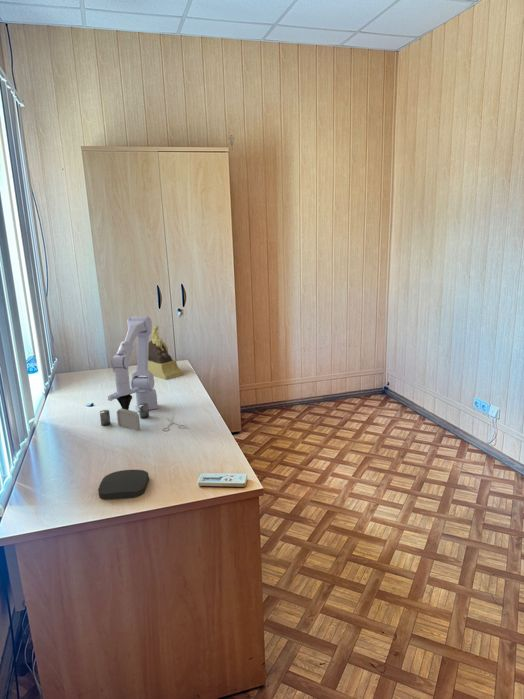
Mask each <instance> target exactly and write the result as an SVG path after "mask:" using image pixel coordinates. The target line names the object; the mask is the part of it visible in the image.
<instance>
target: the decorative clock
mask: <svg viewBox="0 0 524 699" xmlns="http://www.w3.org/2000/svg"><path fill="white" fill-rule="evenodd" d="M158 330H159V326H158V325H154V326H153V328H152V333H151V334H150V336H151V340H150V341H149V348H148V370H149V371H150V372H151V373H152V374H153V376H154V377H155V378H159V379H162V380H164V381H167V380H169V379H173V378H177V377H178V378H179V377H181V376H184V375H185V374H184V373H185V372H184V371H183V370H182V369H181V368H180V367H179V365H178V363H177V360H176V359H175V360H174V359H173V358H172V356H171V355H170V353H169V349H168V347H167V346H168V345H167V344H166V343H165V342H163V339H162V338H160V337H159V331H158Z"/></svg>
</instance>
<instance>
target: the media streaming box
mask: <svg viewBox="0 0 524 699" xmlns="http://www.w3.org/2000/svg"><path fill="white" fill-rule="evenodd" d="M149 478H150V477H149V472H148V471H146V470H144V469H125V470H124V469H123V470H117V471H113V472H111V473H109V474H107V475H104V477H103V478H102V479H101V481H100V483H99V486H98V490H97V491H98V497H99V499H101V500H107V501H109V500H121V499H130V498H131V499H134V498H138V497H140V496H143V495H144V494H145V492H146V490H147V487H148V486H149V485H148V484H149V480H150V479H149Z"/></svg>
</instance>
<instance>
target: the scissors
mask: <svg viewBox="0 0 524 699" xmlns="http://www.w3.org/2000/svg"><path fill="white" fill-rule="evenodd" d="M164 417H165V418H166V420H167V421H168V422H169V424H168V425H167V426H166V427H163V428H162V432H169V431H170V430H171V428H170V426H172V425H177V427H178V428H179V429H187V430H189V429H190V428H189V427H187V425H185V424H180V423H176V422H175V419H174V418H175V416H174V414H172V417H171V419H170V418H168V416H166V415H165V416H164Z"/></svg>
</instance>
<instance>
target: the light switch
mask: <svg viewBox="0 0 524 699" xmlns="http://www.w3.org/2000/svg"><path fill="white" fill-rule="evenodd" d="M116 416H117V419H116V420H117V426H118V427H123V428H127V429H131V430H134V431H137V432H138V431H141V424H140V423H141V422H140V414H139V413H138V411H135V410H130V409H129V410H126V409H122V407H121V408H119V409H118V410H117V411H116Z"/></svg>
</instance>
